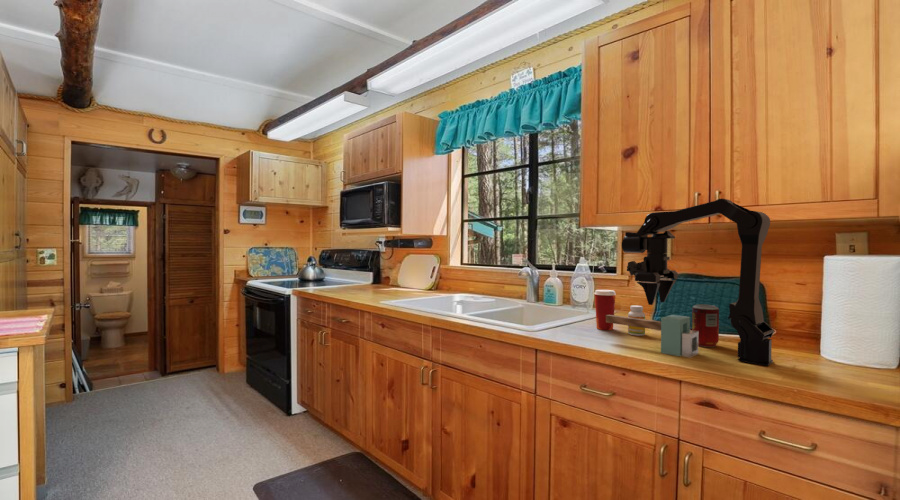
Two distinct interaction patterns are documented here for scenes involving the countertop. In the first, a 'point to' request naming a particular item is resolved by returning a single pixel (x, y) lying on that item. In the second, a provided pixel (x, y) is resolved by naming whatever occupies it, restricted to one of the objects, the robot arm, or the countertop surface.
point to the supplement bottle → (637, 313)
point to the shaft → (634, 322)
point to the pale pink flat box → (690, 343)
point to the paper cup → (604, 308)
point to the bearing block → (673, 333)
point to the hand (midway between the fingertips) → (656, 303)
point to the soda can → (706, 324)
